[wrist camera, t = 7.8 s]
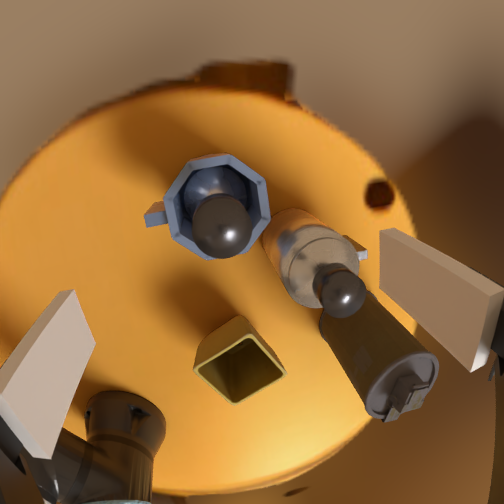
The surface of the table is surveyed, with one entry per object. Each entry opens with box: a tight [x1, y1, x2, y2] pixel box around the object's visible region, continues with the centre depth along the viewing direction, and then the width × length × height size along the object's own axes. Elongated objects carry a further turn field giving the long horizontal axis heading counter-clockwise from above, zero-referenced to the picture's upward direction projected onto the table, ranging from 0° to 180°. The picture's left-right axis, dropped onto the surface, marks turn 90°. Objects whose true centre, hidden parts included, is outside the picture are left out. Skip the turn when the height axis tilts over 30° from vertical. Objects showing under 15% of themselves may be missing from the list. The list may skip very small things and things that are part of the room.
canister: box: [319, 290, 439, 422], centre depth 39 cm, size 11×10×20 cm
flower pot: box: [193, 315, 287, 406], centre depth 42 cm, size 9×9×9 cm
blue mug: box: [144, 153, 271, 260], centre depth 33 cm, size 11×9×12 cm
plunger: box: [184, 166, 252, 259], centre depth 28 cm, size 7×7×14 cm
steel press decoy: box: [262, 208, 368, 318], centre depth 34 cm, size 10×8×18 cm
